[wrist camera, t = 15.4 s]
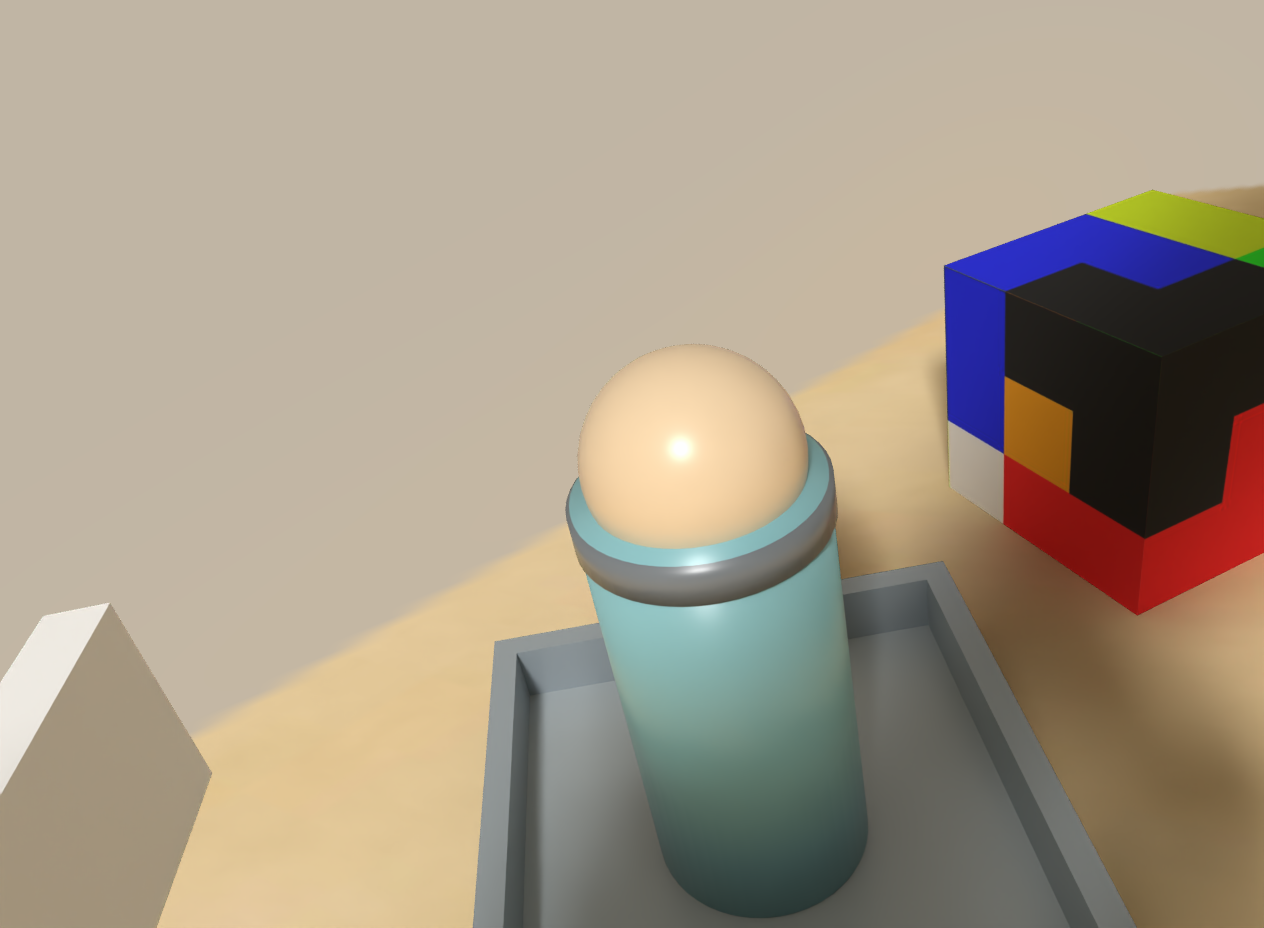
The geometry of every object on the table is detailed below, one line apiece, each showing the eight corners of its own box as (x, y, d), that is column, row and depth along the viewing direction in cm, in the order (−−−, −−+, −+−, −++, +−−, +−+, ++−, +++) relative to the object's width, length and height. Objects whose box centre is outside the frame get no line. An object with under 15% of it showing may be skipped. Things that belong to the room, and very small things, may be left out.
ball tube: (844, 727, 33) (790, 276, 25) (897, 900, 27) (849, 397, 20) (650, 760, 33) (535, 326, 25) (664, 938, 28) (525, 459, 20)
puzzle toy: (949, 488, 44) (943, 265, 39) (1134, 408, 47) (1152, 189, 41) (1137, 616, 36) (1161, 356, 31) (1349, 511, 38) (1404, 254, 33)
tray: (944, 623, 37) (943, 561, 36) (1162, 1067, 24) (1173, 997, 22) (513, 699, 38) (494, 641, 36) (490, 1175, 24) (458, 1112, 23)
